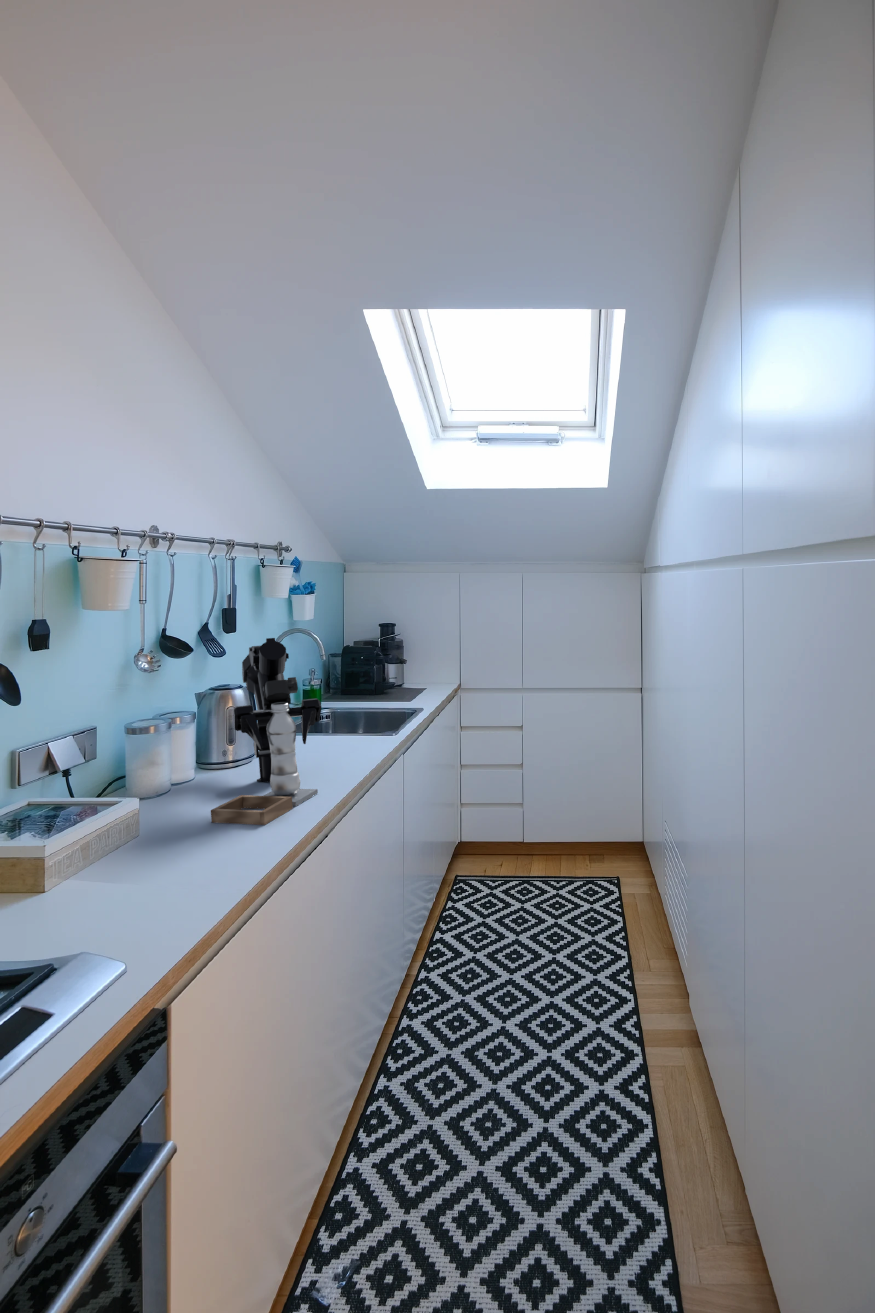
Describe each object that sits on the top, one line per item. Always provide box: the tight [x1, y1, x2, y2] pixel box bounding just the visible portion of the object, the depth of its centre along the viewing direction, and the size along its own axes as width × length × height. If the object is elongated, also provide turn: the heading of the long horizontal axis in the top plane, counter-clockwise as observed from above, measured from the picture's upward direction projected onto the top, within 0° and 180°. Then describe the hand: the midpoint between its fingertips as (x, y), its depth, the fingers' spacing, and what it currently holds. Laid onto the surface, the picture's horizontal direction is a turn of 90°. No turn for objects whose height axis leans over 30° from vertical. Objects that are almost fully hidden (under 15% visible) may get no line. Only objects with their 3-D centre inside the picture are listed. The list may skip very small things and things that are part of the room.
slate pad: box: [262, 788, 319, 807], centre depth 164 cm, size 10×10×1 cm
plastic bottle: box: [266, 702, 301, 795], centre depth 163 cm, size 6×7×20 cm
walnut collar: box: [210, 794, 294, 826], centre depth 153 cm, size 12×11×2 cm
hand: (283, 745), depth 161 cm, fingers open, 9 cm apart
